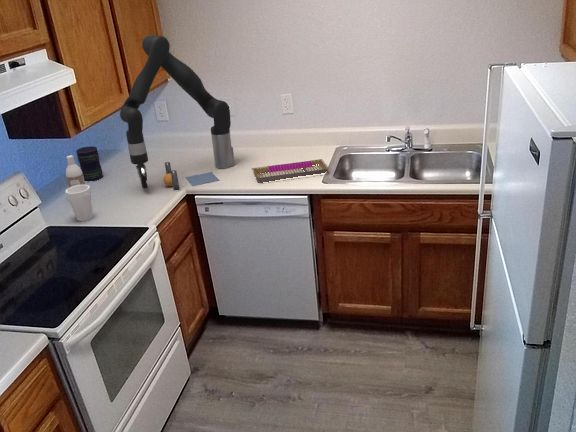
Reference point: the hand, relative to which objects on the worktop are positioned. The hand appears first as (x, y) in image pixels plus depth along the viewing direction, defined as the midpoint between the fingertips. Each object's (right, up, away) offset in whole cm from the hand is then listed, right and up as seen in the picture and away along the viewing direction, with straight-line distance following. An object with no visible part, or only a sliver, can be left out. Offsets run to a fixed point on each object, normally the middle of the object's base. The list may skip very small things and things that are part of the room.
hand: (144, 187), depth 240 cm
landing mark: (+25, +5, +10) cm, 27 cm away
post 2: (+15, -1, 0) cm, 15 cm away
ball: (+11, +4, +3) cm, 12 cm away
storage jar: (-31, +6, +21) cm, 38 cm away
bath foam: (-29, -5, -2) cm, 29 cm away
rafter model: (+67, +6, +9) cm, 68 cm away
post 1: (+9, +4, +11) cm, 15 cm away
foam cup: (-19, -14, -22) cm, 32 cm away
